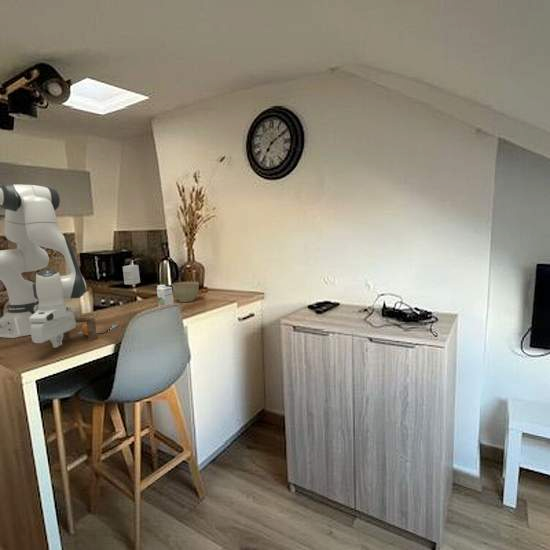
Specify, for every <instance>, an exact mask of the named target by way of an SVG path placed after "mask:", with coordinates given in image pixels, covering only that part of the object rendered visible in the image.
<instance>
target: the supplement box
mask: <svg viewBox="0 0 550 550" xmlns="http://www.w3.org/2000/svg"><path fill="white" fill-rule="evenodd" d="M122 272H123V273H122V274H123V275H122V276H123V281H124V285H133V286H134V285H137V284H139V283H141V278H140V269H139V264H129V265H124V266H122Z"/></svg>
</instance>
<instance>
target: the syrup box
mask: <svg viewBox="0 0 550 550" xmlns="http://www.w3.org/2000/svg"><path fill="white" fill-rule="evenodd" d="M156 293H157V302H158V308H159V307H160V306H165V305H169V304H173V305H174V298H173V296H174V295H173V287H172V286H167V285H166V286H163V287H159V288H157V287H156Z"/></svg>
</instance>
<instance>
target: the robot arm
mask: <svg viewBox="0 0 550 550" xmlns="http://www.w3.org/2000/svg"><path fill="white" fill-rule="evenodd" d="M60 203H61V198H60V194H59V192H58V191H57V189H55V188H53V187H49V186H43V185H35V184H17V183H16V184H13V183H3V184H1V185H0V207H1V208H2V209H4V210H5V213H4V233H3V234H4V237H5V238H6V239H7V240H8V241H10V242H12V243H14V244H16V248H13V249H2V250H0V281H1V282H2V284H3V285H4V287H5V289H6V292H7V297H8V301H9V304H8V305H5V306H4V307H5V308H4V309H5V310H6V309H7V310H6V313H5V314H4V315H3V316H1V317H0V338H7V339H15V338H16V339H17V338H19V337H20V338H21V337H26V336H31V341H32V342H33V343H34V344H43V343H45V342H47V341H49V342H51V343H52V347H53V348H55V349H56V348H59V347H60V346H62V345H63V341H62V339H63V333H65V332H67V331H69V332H70V331H71V330H73V329H75V328H76V327H77V322H76V321H75V318H76V317H75V315H74V312H73V309H72V308H71V307H69V306H66V302H65V300H66V299H80V298H81V297H83V296H84V295H85V293H87V283H86V280H85V278H84V276H83V274H82V272H81V269H80V266H79V263H78V259H77V255H76V254H75V251H74V249H73V246H72V244H71V241H70V239H69V237H68V236H66V235H64V234H62V232H61V231H60V228H59V226H58V224H59V223H58V219H57V215H56V210H57V209H59V207H60ZM43 248H46V249H48V250H49V249H50V250H54V251H57V252H58V253H61V255H62V256H63V257H64V260H65V262H66V267H67V269H68V271H69V273H68V274H66V275H60V272H59V271H58V270H55V269H45V268H46V267H47V266H48V265H49V262H50V257H49V255H48V252H47V251H46V250H45V249H43ZM42 269H45V270H42ZM40 270H41V271H40ZM36 271H39V272H37V273H36V274H35V281H34V282H33V281H31V280H28V279H25V278H24V277H23V275H22V273H29V272H36Z"/></svg>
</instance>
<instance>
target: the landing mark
mask: <svg viewBox="0 0 550 550" xmlns="http://www.w3.org/2000/svg"><path fill="white" fill-rule="evenodd" d="M111 325H112V328H110V331H111V330H114V329H115V328H117V327H118V325H119V324H111ZM116 326H117V327H116ZM108 332H109V330H108ZM76 335H84V334H83V333H82V330H81V331H79V332H77V333H76Z"/></svg>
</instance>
